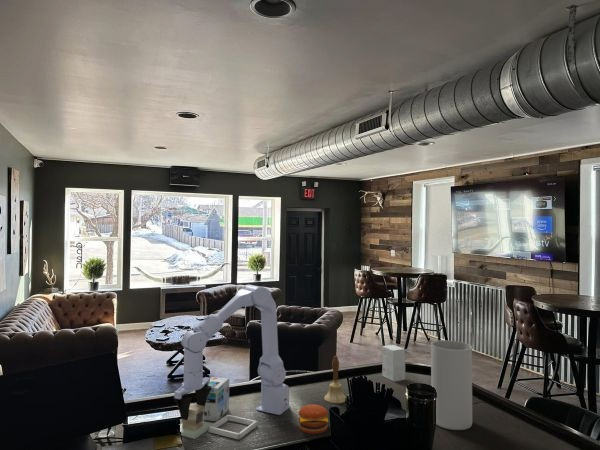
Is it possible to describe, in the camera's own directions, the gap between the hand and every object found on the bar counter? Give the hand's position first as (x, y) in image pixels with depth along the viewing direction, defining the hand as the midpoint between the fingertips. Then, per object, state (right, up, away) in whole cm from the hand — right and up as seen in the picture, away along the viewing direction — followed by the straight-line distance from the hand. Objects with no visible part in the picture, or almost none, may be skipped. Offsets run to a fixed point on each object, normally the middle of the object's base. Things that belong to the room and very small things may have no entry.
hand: (192, 414), depth 132 cm
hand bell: (+47, -6, +25) cm, 53 cm away
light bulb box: (+4, -5, +11) cm, 13 cm away
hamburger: (+38, -5, +2) cm, 38 cm away
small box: (+73, -7, +49) cm, 88 cm away
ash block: (0, -4, 0) cm, 4 cm away
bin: (+13, -5, +1) cm, 13 cm away
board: (0, -5, 0) cm, 5 cm away
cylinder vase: (+83, -6, +6) cm, 83 cm away
